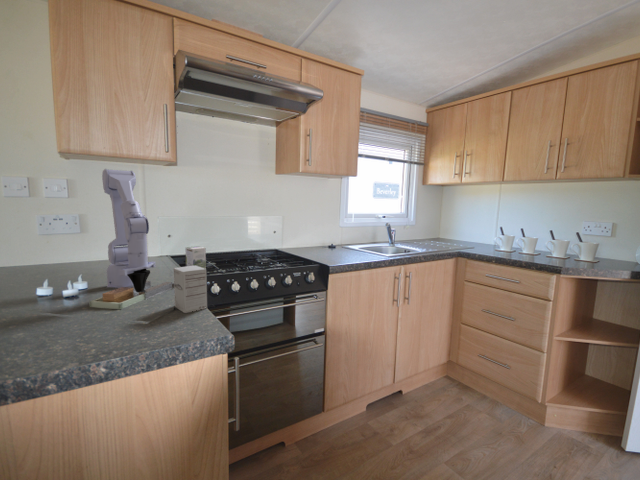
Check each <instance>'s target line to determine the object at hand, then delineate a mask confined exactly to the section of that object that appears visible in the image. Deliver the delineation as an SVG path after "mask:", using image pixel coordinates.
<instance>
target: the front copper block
mask: <svg viewBox="0 0 640 480" xmlns="http://www.w3.org/2000/svg"><path fill="white" fill-rule="evenodd" d="M102 297H103V302H116V303H121V302H123V301H125V297H124V291H118V290H115V289H112V290H110V291H107V292H104V293H102Z"/></svg>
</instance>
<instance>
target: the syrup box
mask: <svg viewBox="0 0 640 480" xmlns="http://www.w3.org/2000/svg"><path fill="white" fill-rule="evenodd" d="M206 255H207V253H206V247H204V246H201V245H198V246H188V247H185V267H186V266H195V265H196V266H199V267H202V268H204V269H206V270H207V268H206V267H207V262H206V260H207V257H206Z"/></svg>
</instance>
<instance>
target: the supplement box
mask: <svg viewBox="0 0 640 480" xmlns="http://www.w3.org/2000/svg"><path fill="white" fill-rule="evenodd" d="M207 281H208V279H207V268H206V269H204V268H202V267H199V266H196V265H195V266H186V265H185V266H181V267H174V268H173V284H174V285H173V287H174V288H173V289H174V307H175V308H176V309H178V310H179V311H181V312H182V313H184V314H187V313H193V312H196V310H197V311H201V310H200V309H202V310H205V307H206V309H208V292H207V291H208V286H207V285H208V284H207ZM192 311H193V312H192Z"/></svg>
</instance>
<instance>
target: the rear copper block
mask: <svg viewBox="0 0 640 480" xmlns="http://www.w3.org/2000/svg"><path fill="white" fill-rule="evenodd" d="M114 290H118V291H124V297H125V301H126V300H128V299H131V298H134V293H133V288H131V287H121V288H115V289H114Z"/></svg>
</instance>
